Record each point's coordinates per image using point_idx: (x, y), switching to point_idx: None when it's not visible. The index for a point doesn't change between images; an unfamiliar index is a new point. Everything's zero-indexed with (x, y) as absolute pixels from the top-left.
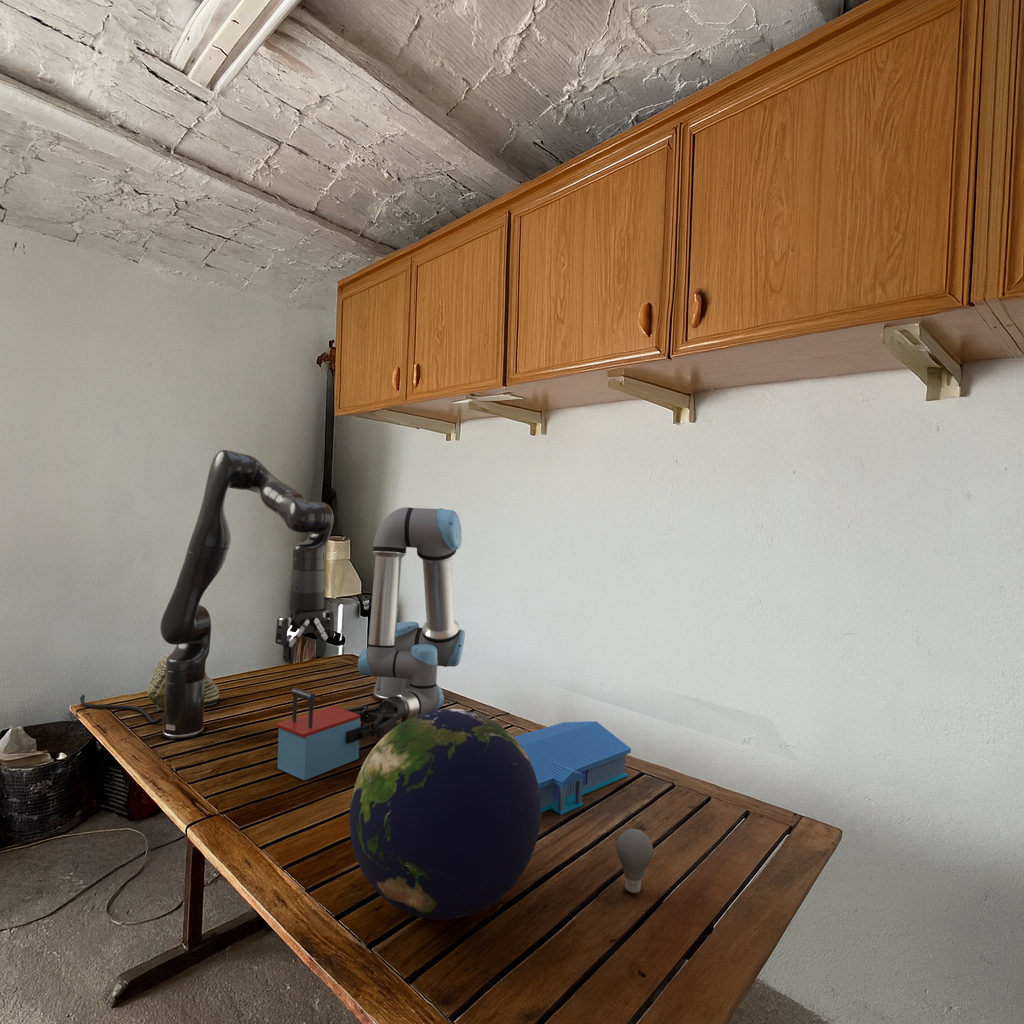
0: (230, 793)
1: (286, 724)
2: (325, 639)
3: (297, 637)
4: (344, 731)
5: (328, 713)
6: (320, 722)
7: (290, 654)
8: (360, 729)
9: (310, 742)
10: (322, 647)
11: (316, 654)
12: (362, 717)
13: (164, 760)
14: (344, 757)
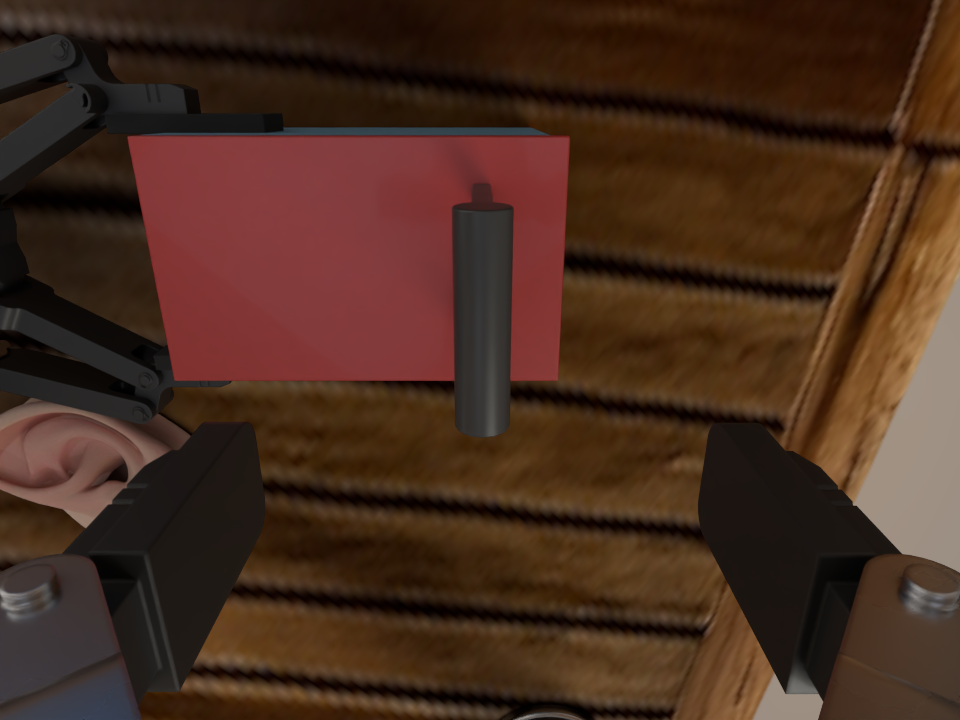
0: (764, 256)
1: (535, 331)
2: (57, 563)
3: (885, 674)
4: (278, 133)
5: (267, 302)
6: (389, 216)
7: (806, 488)
8: (175, 114)
9: (516, 133)
10: (190, 482)
11: (262, 513)
12: (43, 302)
13: (709, 618)
14: (309, 128)
